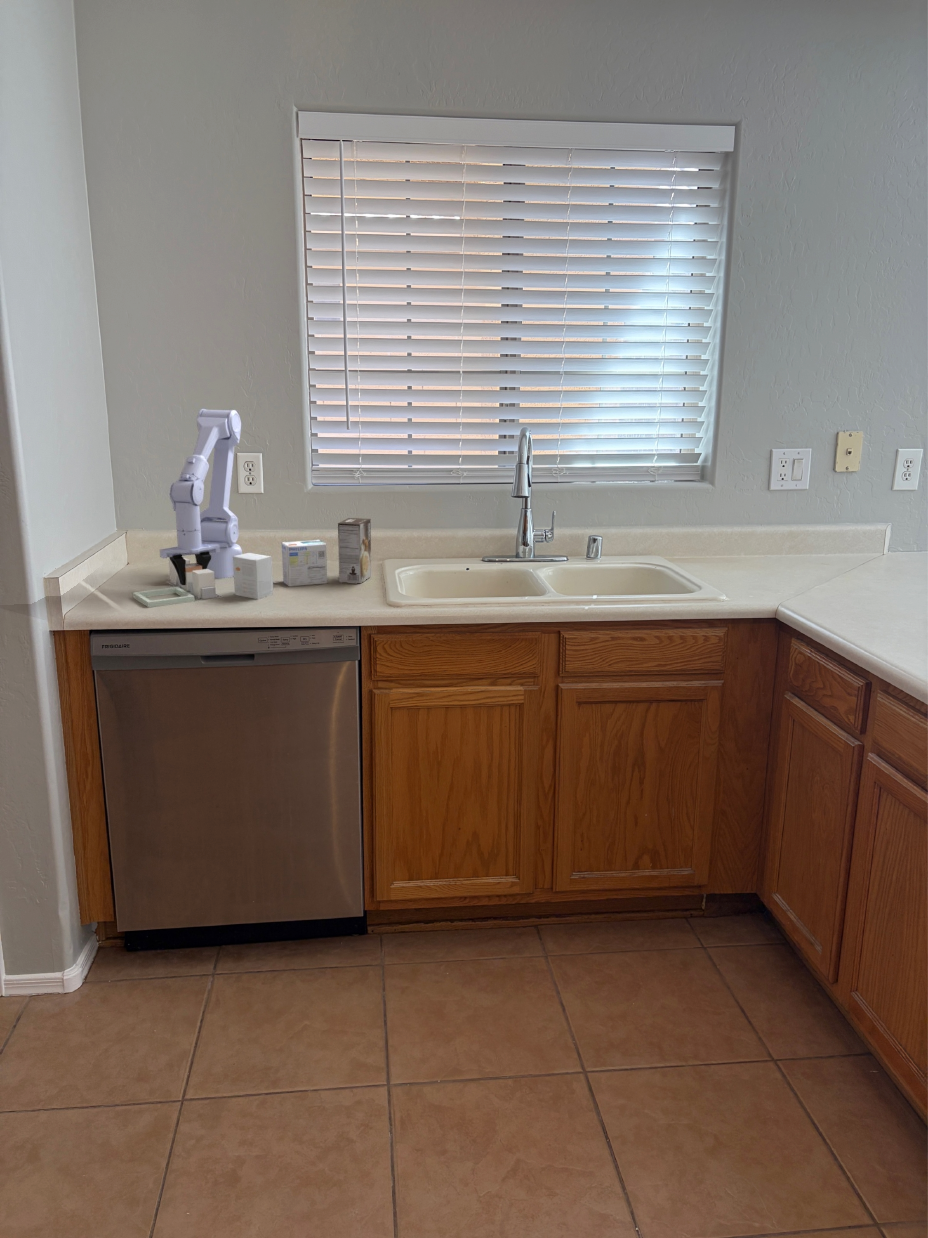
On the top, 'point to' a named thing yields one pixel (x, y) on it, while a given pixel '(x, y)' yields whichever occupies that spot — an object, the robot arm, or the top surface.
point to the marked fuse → (190, 573)
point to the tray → (183, 599)
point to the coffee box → (354, 550)
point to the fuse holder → (205, 592)
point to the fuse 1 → (173, 571)
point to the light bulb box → (304, 563)
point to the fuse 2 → (202, 580)
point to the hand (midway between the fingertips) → (191, 583)
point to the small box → (253, 575)
